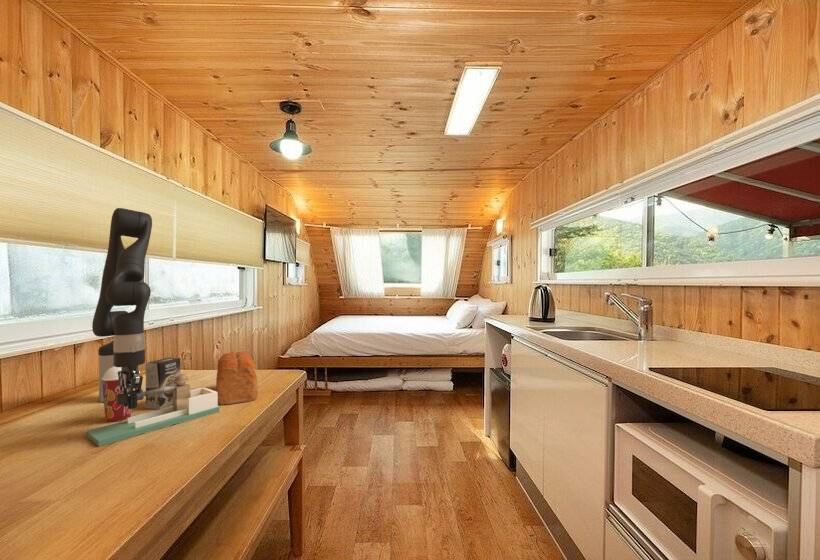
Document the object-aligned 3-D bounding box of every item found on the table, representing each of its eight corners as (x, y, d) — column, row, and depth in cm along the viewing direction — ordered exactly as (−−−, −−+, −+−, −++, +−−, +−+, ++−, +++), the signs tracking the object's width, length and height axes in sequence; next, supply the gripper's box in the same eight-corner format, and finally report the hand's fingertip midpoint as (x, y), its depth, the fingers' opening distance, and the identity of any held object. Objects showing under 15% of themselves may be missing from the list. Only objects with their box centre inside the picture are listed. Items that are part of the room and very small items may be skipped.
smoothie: (141, 415, 123) (140, 355, 123) (113, 424, 115) (112, 360, 115) (123, 412, 125) (122, 353, 125) (95, 421, 118) (94, 358, 118)
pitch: (86, 436, 107) (86, 413, 107) (202, 404, 132) (202, 386, 132) (98, 446, 100) (98, 422, 100) (219, 411, 125) (219, 392, 125)
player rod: (116, 425, 109) (115, 385, 109) (186, 407, 124) (185, 372, 124) (120, 428, 107) (119, 387, 107) (190, 409, 122) (190, 373, 122)
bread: (252, 383, 160) (252, 348, 160) (259, 400, 137) (258, 359, 137) (216, 387, 154) (215, 351, 154) (216, 407, 130) (216, 364, 130)
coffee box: (160, 409, 128) (159, 363, 128) (145, 408, 129) (144, 362, 129) (181, 401, 137) (181, 357, 137) (167, 400, 138) (166, 357, 138)
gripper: (106, 348, 111) (107, 405, 111) (122, 353, 103) (122, 415, 103) (136, 344, 117) (136, 399, 117) (153, 349, 109) (154, 408, 109)
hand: (130, 406), depth 110 cm, fingers closed on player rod, 3 cm apart
